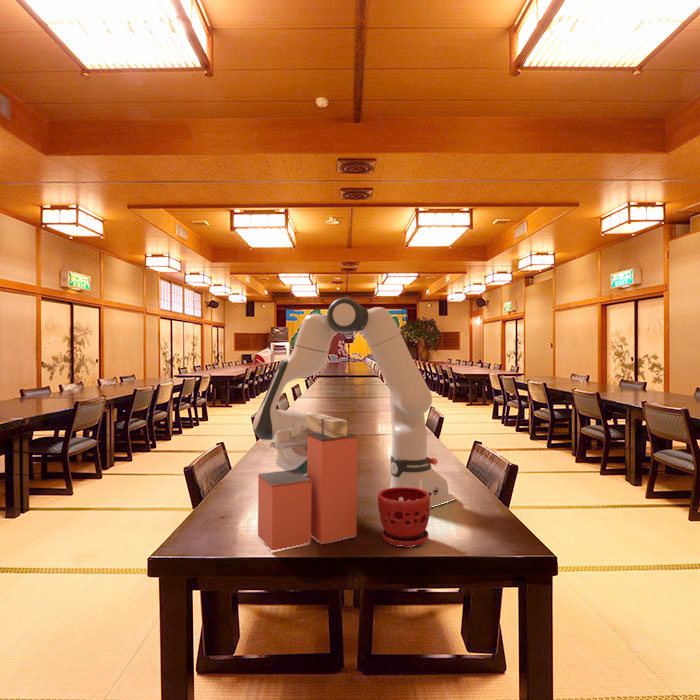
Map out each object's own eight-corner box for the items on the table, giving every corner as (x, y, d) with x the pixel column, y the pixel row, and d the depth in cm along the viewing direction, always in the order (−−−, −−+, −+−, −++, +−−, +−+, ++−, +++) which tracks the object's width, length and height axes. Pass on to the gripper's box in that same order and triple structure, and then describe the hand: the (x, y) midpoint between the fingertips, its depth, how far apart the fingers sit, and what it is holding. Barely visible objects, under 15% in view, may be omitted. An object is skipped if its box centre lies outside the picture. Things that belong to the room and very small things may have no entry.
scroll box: (319, 427, 131) (319, 413, 131) (347, 436, 116) (347, 420, 116) (305, 428, 129) (305, 414, 129) (332, 438, 114) (332, 421, 114)
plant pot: (424, 529, 123) (424, 485, 123) (434, 551, 110) (435, 501, 110) (375, 530, 122) (375, 485, 122) (380, 551, 109) (380, 501, 109)
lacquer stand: (334, 521, 128) (335, 428, 128) (356, 538, 117) (357, 436, 117) (257, 536, 118) (258, 435, 118) (274, 555, 107) (274, 444, 107)
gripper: (266, 437, 133) (280, 418, 123) (329, 431, 143) (347, 413, 133) (269, 458, 131) (284, 441, 120) (334, 450, 140) (352, 434, 130)
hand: (318, 426), depth 126 cm, fingers open, 8 cm apart
